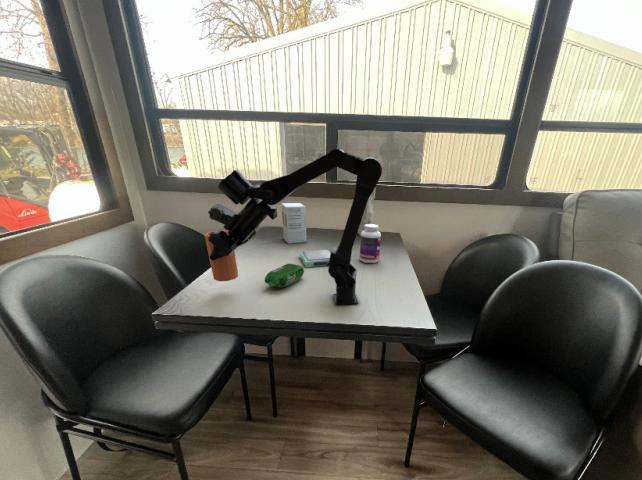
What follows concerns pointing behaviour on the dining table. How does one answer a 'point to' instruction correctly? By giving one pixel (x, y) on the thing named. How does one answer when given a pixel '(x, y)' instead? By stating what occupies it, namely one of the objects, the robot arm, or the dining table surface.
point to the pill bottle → (370, 244)
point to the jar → (222, 263)
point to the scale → (315, 258)
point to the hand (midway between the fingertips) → (217, 255)
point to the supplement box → (294, 222)
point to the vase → (368, 213)
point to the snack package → (284, 275)
